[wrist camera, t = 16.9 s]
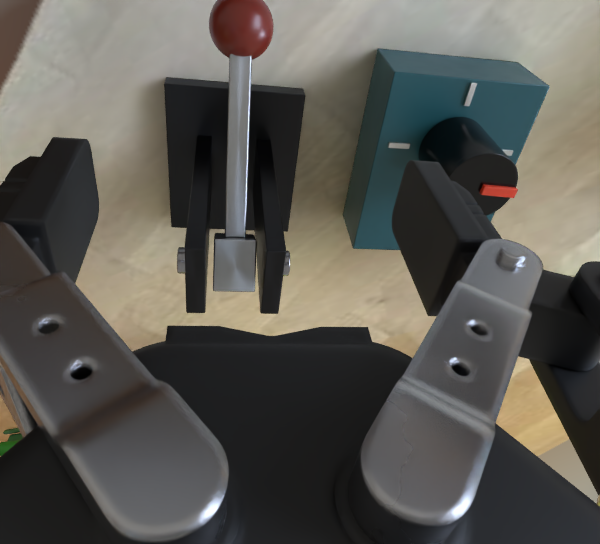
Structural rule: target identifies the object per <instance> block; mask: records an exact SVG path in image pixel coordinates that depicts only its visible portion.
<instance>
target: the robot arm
mask: <svg viewBox="0 0 600 544" xmlns="http://www.w3.org/2000/svg"><path fill="white" fill-rule="evenodd" d="M98 213H99V198H98V191H97V184H96V178H95V171H94V165H93V159H92V152H91V147H90V144H89V141H88V140H87V139H75V138H59V137H53V138H52V139H51V141H50V143H49V144H48V146H47V148H46V149H45V151H44V153H43V154H42V156H41V157H32V156H30V157H28V158H27V159H25V160H23V161H22V162H20V163H18V164H17V165H15V166H14V167H13V168H12V169H11V171H10V172H9V174H8V175H7V177H6V178H5V181H3V183H2V184H1V186H0V395H1V397H2V399H3V400H4V402H5V404H6V406H7V407H8V409H9V411H10V413H11V414H12V416H13V418H14V420H15V422H16V424H17V426H18V428H19V431H20V433H21V435H22V437H23V438H22V439H21V440H20V441H19V442H17V443H16V444H15V445H14V446H13V447H11V448H10V449H9V450H8V451H7V452H5V453H4V454H3V455H2V456H1V457H0V544H600V363H599V360H600V262H587V263H585V264H583V265H582V266H581V268H580V269H579V271H578V273H577V274H576V276H575V277H571V276H566V275H562V274H558V273H554V272H550V271H546V270H543V264H542V261H541V260H540V258H539V257H538V256H537V255H536V254H535V253H534V252H533V251H531V250H530V249H528V248H527V247H525V246H523V245H521V244H519V243H516V242H513V241H510V240H505V239H502V238H501V237H500V235H499V234H498V232H497V231H496V229H495V228H494V226H493V225H492V224H491V222H490V221H489V219H488V218H487V216H486V215H484V212H483V211H482V209H481V208H480V206H479V205H477V202H476V201H475V199H474V198H473V196H472V195H471V193H470V192H469V191H468V190H466V189H465V188H464V187H462V186H461V185H460V184H458V183H457V182H456V181H451V180H450V178H449V177H448V175H447V174H446V172H445V171H444V169H443V168H442V166H441V165H440V163H438V162H430V161H414V160H411V161H409V162H408V163H407V165H406V167H405V170H404V173H403V177H402V180H401V184H400V187H399V191H398V195H397V198H396V202H395V205H394V209H393V213H392V230H393V234H394V236H395V239H396V241H397V243H398V246H399V248H400V251H401V253H402V255H403V258H404V260H405V262H406V265H407V267H408V269H409V272H410V274H411V277H412V279H413V281H414V284H415V286H416V288H417V291H418V293H419V295H420V298H421V300H422V303H423V305H424V307H425V310H426V312H427V314H428V316H437V317H436V319H435V321H434V322H433V324H432V326H431V328H430V329H429V331H428V333H427V335H426V336H425V338H424V340H423V342H422V343H421V345H420V347H419V349H418V350H417V352H416V354H415V355H414V357H413V358H411V357H410V356H408V355H406V354H404V353H402V352H400V351H398V350H396V349H393V348H391V347H388V346H385V345H382V344H379V343H374V342H372V340H371V337H370V333H369V330H368V327H318V328H313V329H308V330H303V331H298V332H293V333H288V334H283V335H278V336H266V335H261V334H256V333H251V332H246V331H241V330H235V329H230V328H225V327H220V326H168V327H167V335H166V341H164V342H159V343H155V344H152V345H149V346H145V347H143V348H141V349H138V350H136V351H133V352H132V351H131V350H130V349H129V347H128V346H127V345H126V344H125V343H124V342H123V340H122V339H121V338H120V337H119V336H118V334H117V333H116V332H115V331H114V330H113V329H112V327H111V326H110V325H109V324H108V323H107V321H106V320H105V319H104V318H103V317H102V315H101V314H100V313H99V312H98V311H97V310H96V308H95V307H94V306H93V305H92V304H91V302H90V301H89V300H88V299H87V298H86V296H85V295H84V294H83V293H82V292H81V291H80V289H79V288H78V287H77V286H76V285H75V282H76V280H77V277H78V274H79V271H80V268H81V265H82V263H83V260H84V257H85V254H86V251H87V248H88V246H89V243H90V240H91V237H92V234H93V231H94V229H95V226H96V223H97V220H98ZM518 356H520V357H524V358H528V359H529V360H530V362H531V364H532V366H533V368H534V370H535V372H536V374H537V376H538V378H539V380H540V382H541V384H542V386H543V388H544V390H545V392H546V394H547V396H548V398H549V399H550V401H551V403H552V405H553V407H554V409H555V411H556V413H557V415H558V417H559V419H560V421H561V423H562V425H563V427H564V429H565V431H566V433H567V435H568V437H569V439H570V441H571V442H572V444H573V446H574V448H575V450H576V452H577V454H578V456H579V458H580V460H581V462H582V464H583V466H584V468H585V470H586V472H587V474H588V476H589V478H590V480H591V482H592V484H593V486H594V488H595V489H596V491H597V493H598V495H599V497H598V500H597V504H596V503H595V502H594V501H592V500H591V499H590V498H589V497H587V496H586V495H585V494H584V493H582V492H581V491H580V490H578V489H577V488H576V487H575V486H573V485H572V484H571V483H570V482H568V481H567V480H566V479H565V478H563V477H562V476H561V475H560V474H558V473H557V472H556V471H555V470H553V469H552V468H551V467H550V466H548V465H547V464H546V463H545V462H543V461H542V460H541V459H540V458H538V457H537V456H536V455H535V454H533V453H532V452H531V451H530V450H528V449H527V448H526V447H525V446H523V445H522V444H521V443H519V442H518V441H517V440H516V439H514V438H513V437H512V436H511V435H509V434H508V433H507V432H506V431H504V430H503V429H502V428H501V427H499V426H498V425H497V424H496V419H497V416H498V413H499V410H500V408H501V405H502V402H503V399H504V396H505V393H506V390H507V387H508V384H509V381H510V378H511V375H512V372H513V369H514V366H515V363H516V360H517V357H518Z"/></svg>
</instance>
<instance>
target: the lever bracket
mask: <svg viewBox="0 0 600 544" xmlns="http://www.w3.org/2000/svg"><path fill="white" fill-rule="evenodd" d="M164 88H165V108H166V128H167V148H168V168H169V188H170V208H171V227H180V228H187V231H186V240H185V248H184V247H179V248H178V254H177V271H178V273H185V281H186V312H187V313H205V307H206V288H207V269H208V250H209V230H210V229H225V209H226V171H227V133H228V95H229V82H217V81H205V80H193V79H181V78H169V77H166V80H165V83H164ZM304 101H305V93H304V90H303V89H300V88H289V87H277V86H265V85H253V84H251V97H250V126H249V155H248V183H247V212H246V230H255V238H256V241H257V247H256V253H257V268H258V284H259V299H260V312H261V313H263V314H278V311H279V304H280V296H281V288H282V281H283V276H288V275H289V271H290V253H289V251H286V246H285V239H284V232H283V231H288V225H289V218H290V210H291V202H292V194H293V187H294V179H295V171H296V163H297V156H298V148H299V140H300V132H301V125H302V117H303V109H304Z"/></svg>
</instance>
